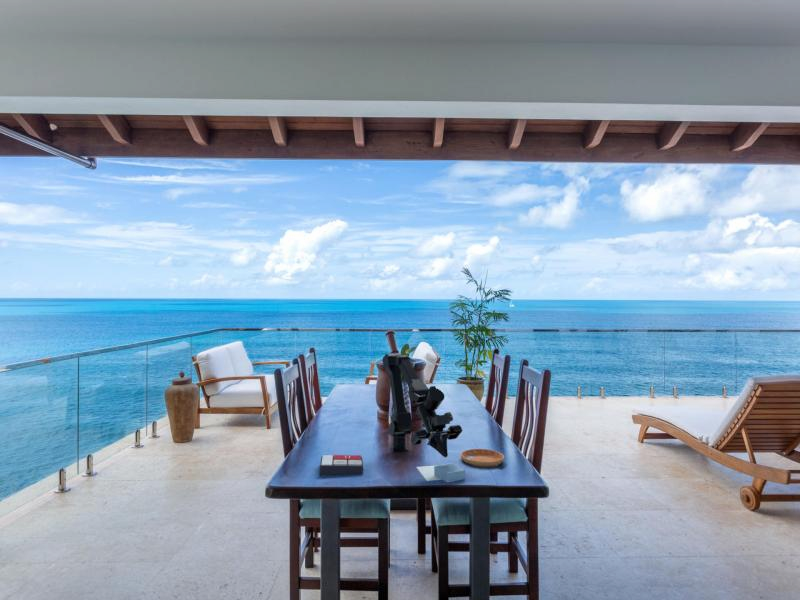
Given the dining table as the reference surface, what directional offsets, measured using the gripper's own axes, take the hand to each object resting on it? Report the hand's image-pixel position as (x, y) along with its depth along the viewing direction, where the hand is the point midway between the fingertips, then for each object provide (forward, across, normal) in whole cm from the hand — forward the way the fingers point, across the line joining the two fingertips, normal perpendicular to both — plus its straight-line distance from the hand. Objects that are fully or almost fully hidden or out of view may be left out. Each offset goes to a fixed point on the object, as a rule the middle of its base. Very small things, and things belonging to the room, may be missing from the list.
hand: (446, 456), depth 156 cm
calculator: (-11, -29, +22) cm, 38 cm away
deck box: (+2, 0, +5) cm, 5 cm away
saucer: (+1, +20, +10) cm, 23 cm away
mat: (+2, 0, +7) cm, 8 cm away
